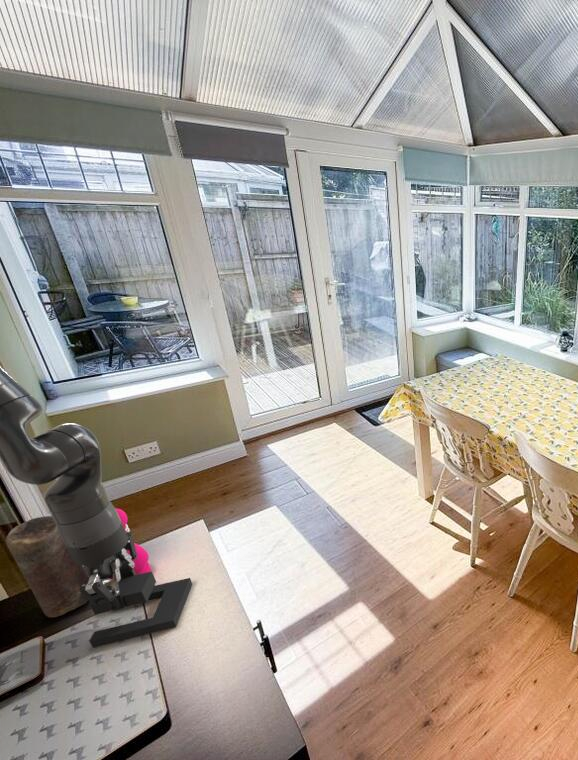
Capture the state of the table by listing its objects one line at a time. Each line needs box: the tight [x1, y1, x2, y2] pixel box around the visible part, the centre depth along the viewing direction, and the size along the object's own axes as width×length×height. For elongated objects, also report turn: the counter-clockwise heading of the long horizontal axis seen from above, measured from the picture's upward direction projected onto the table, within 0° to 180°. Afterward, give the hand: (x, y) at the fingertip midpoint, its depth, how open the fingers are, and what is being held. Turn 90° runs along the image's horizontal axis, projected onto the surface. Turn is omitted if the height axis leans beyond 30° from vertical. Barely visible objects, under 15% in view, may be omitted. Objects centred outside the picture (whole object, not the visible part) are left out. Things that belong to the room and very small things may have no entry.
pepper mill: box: [108, 507, 152, 580], centre depth 87 cm, size 7×7×20 cm
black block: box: [88, 570, 157, 615], centre depth 80 cm, size 8×5×3 cm, turn 110°
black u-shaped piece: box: [88, 577, 193, 649], centre depth 83 cm, size 13×10×2 cm
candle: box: [5, 515, 90, 618], centre depth 81 cm, size 8×7×20 cm
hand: (125, 595), depth 80 cm, fingers closed on black block, 5 cm apart
